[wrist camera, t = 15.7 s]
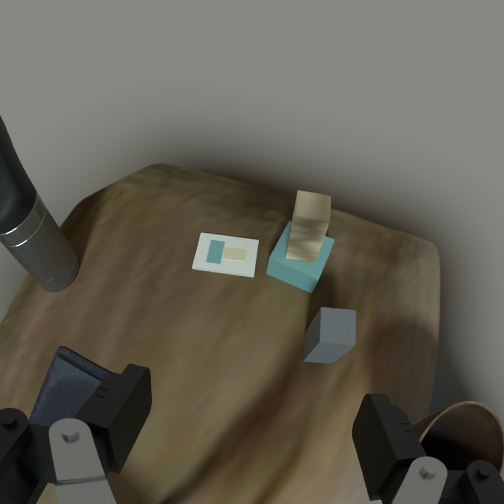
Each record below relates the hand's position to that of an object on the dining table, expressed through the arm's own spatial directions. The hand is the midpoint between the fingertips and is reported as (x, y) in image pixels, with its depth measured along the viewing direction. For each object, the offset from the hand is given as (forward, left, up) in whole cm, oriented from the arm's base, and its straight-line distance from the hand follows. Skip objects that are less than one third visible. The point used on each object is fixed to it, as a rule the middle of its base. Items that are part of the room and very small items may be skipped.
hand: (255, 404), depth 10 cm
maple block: (+6, +26, -28) cm, 39 cm away
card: (-6, +26, -33) cm, 43 cm away
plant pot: (+24, -6, -33) cm, 41 cm away
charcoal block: (+10, +12, -33) cm, 36 cm away
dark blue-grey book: (-25, -6, -34) cm, 42 cm away
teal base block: (+6, +27, -33) cm, 43 cm away
